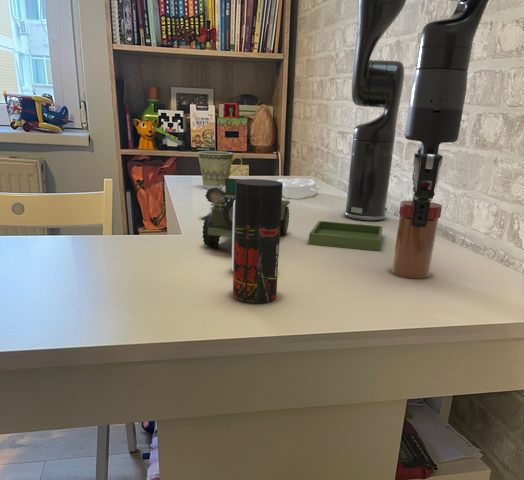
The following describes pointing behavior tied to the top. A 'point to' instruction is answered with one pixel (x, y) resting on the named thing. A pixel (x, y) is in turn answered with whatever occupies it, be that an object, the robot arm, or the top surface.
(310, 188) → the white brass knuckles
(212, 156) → the ceramic cup
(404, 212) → the jar lid
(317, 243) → the tray
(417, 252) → the jar
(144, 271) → the top surface
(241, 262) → the deodorant
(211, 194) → the eagle figurine
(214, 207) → the toy jeep
